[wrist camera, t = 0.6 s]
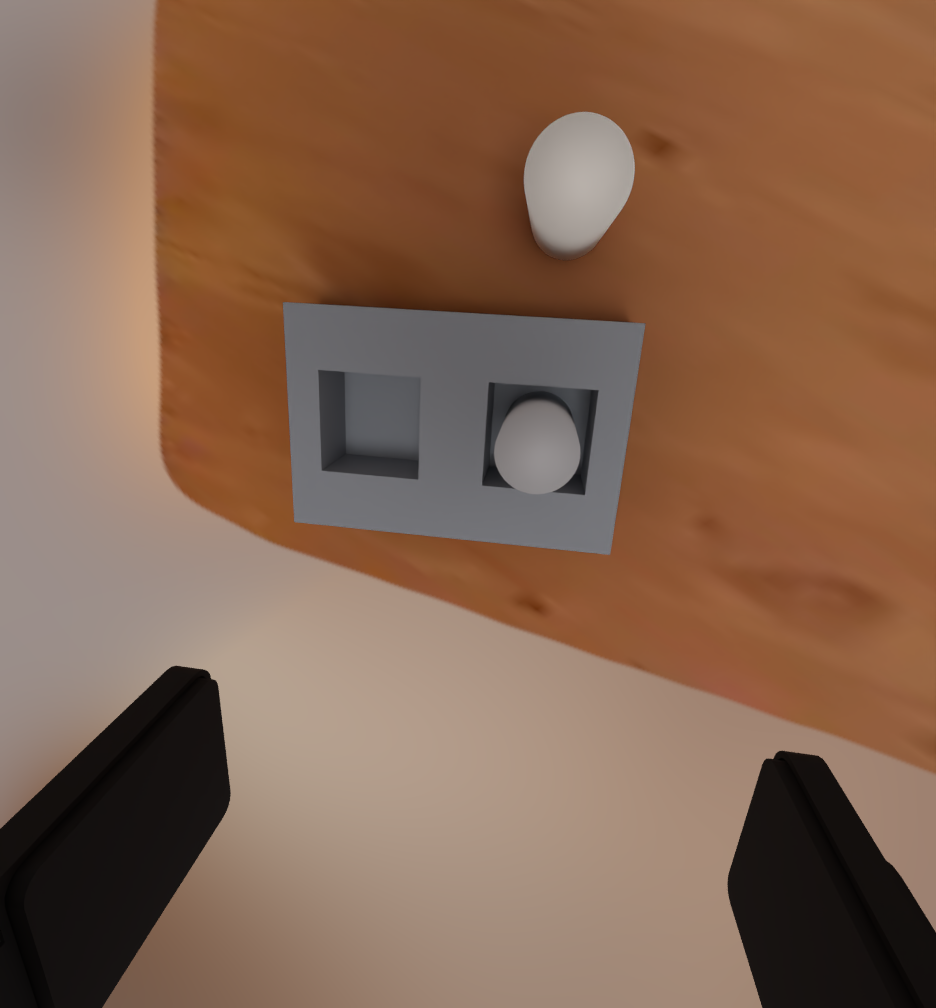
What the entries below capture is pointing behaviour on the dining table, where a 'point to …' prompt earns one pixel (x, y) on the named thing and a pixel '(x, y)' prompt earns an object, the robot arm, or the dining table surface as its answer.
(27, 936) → the robot arm
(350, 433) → the socket block
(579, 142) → the peg
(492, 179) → the dining table surface
